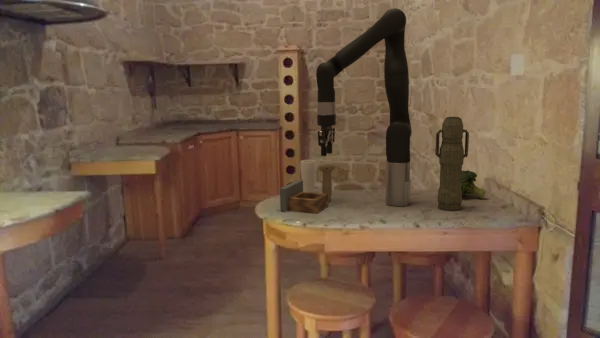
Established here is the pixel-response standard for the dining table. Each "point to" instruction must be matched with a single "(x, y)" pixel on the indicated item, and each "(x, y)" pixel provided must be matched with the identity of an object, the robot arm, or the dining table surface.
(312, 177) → the drinking glass
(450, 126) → the thermos
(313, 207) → the walnut block
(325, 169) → the handle
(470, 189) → the vegetable
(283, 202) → the slate wall
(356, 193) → the dining table surface
